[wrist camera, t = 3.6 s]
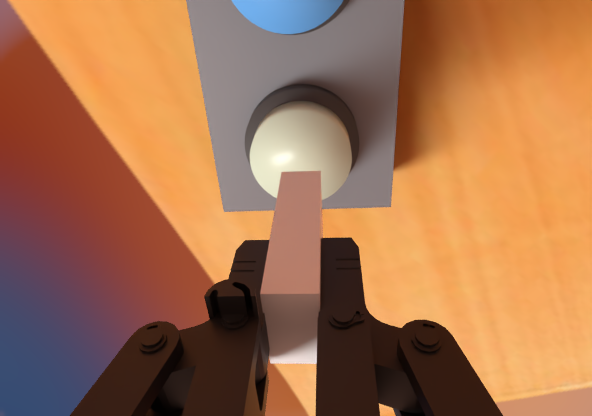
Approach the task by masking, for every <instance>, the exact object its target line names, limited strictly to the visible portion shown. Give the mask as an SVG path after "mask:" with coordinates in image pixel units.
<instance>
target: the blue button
mask: <svg viewBox="0 0 592 416" xmlns="http://www.w3.org/2000/svg"><path fill="white" fill-rule="evenodd" d="M231 1H232V2H233V4H234V5H235V6H236V8H237V9H238V10H239V11H240V12H241V13H242V14H243V15H244V17H246V18H247V19H248V20H249V21H251V22H252V23H254V24H255V25H257V26H258V27H260V28H263V29H265V30H267V31H271V32H274V33H280V34H296V33H302V32H305V31H308V30H311V29H313V28H315V27H317V26H319V25H320V24H322V23H323V22H325V21H326V20H327V19H329V18H330V17H331V16H332V15H333V14H334V13H335V12H336V10H337V9H338V8H339V6H340V5H341V4H342V2H343V0H231Z"/></svg>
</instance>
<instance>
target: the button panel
mask: <svg viewBox="0 0 592 416" xmlns="http://www.w3.org/2000/svg"><path fill="white" fill-rule="evenodd" d="M186 2H187V7H188V13H189V18H190V24H191V30H192V35H193V41H194V46H195V52H196V58H197V63H198V69H199V74H200V80H201V86H202V91H203V97H204V103H205V108H206V114H207V119H208V125H209V131H210V136H211V142H212V147H213V153H214V159H215V164H216V170H217V175H218V181H219V187H220V192H221V198H222V204H223V209H224V212H233V211H268V210H275V206H276V201H277V198H275V197H273V196H272V195H270V194H269V193H268V192H266V191H265V190H264V189H263V188H262V187H261V186H260V184H259V183H258V182H257V180H256V178H255V177H254V175H253V172H252V169H251V165H250V149H251V145H252V142H253V139H254V136H255V133H256V130H257V127H258V126H259V124H260V122H261V121H262V119H263V118H264V117H265V116H266V115H267V114H268V113H269V112H270V111H272V110H273V109H274V108H276V107H278V106H280V105H282V104H285V103H289V102H293V101H309V102H314V103H317V104H320V105H322V106H325V107H326V108H328V109H330V110H331V111H332V112H334V113H335V114H336V115H337V116H338V117H339V118H340V119H341V121H342V122H343V124H344V126H345V127H346V130H347V132H348V135H349V140H350V146H351V152H352V164H351V169H350V172H349V175H348V177H347V179H346V181H345V182H344V184H343V185H342V186H341V187H340V188H339V189H338V190H337V191H336V192H335V193H334V194H333V195H331V196H329V197H328V198H326V199H324V200H322V209H337V208H372V207H391V196H392V181H393V166H394V151H395V136H396V121H397V106H398V91H399V76H400V60H401V45H402V30H403V15H404V0H343V2H342V4H341V5H340V6H339V8H338V9H337V10H336V12H335V13H334V14H333V15H332V16H331V17H330V18H329V19H327V20H326V21H325V22H323V23H322V24H320V25H319V26H317V27H315V28H313V29H311V30H308V31H305V32H302V33H296V34H280V33H274V32H271V31H267V30H265V29H263V28H260V27H258V26H257V25H255V24H254V23H252V22H251V21H249V20H248V19H247V18H246V17H244V15H243V14H242V13H241V12H240V11H239V10H238V9H237V8H236V6H235V5H234V4H233V2H232V1H231V0H186Z"/></svg>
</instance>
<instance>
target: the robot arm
mask: <svg viewBox="0 0 592 416" xmlns="http://www.w3.org/2000/svg"><path fill="white" fill-rule="evenodd" d="M205 301H206V305H207V309H208V314H209V318H210V320H208V321H206V322H205V323H203V324H200V325H198V326H195V327H191V328H187V329H183V330H180V331H179V330H178V329H177V328H176V327H175V325H173V324H171V323H169V322H160V321H158V322H153V323H150V324H147V325H145V326H143V327H141V328H140V329H138V330H137V331H136V332H135V333H134V334H133V335H132V336H131V337H130V338H129V339H128V341H127V342H126V343H125V345H124V346H123V348H122V349H121V350H120V351H119V352H118V354H117V355H116V356H115V358H114V359H113V360H112V362H111V363H110V364H109V366H108V367H107V368H106V369H105V371H104V372H103V373H102V375H101V376H100V377H99V378H98V380H97V381H96V382H95V384H94V385H93V386H92V387H91V389H90V390H89V391H88V393H87V394H86V395H85V397H84V398H83V399H82V400H81V402H80V403H79V404H78V406H77V407H76V408H75V409H74V411H73V412H72V413H71V415H70V416H265V409H266V400H267V392H268V384H269V380H268V371H267V365H268V358H270V363H296V364H317V375H316V416H380V411H379V403H380V404H383V405H386V406H389V407H392V408H393V410H394V412H395V415H396V416H503V415H502V413H501V412H500V410H499V409H498V407H497V405H496V404H495V402H494V401H493V399H492V397H491V396H490V394H489V393H488V391H487V390H486V388H485V386H484V385H483V383H482V382H481V380H480V378H479V377H478V375H477V374H476V372H475V371H474V369H473V367H472V366H471V364H470V363H469V361H468V360H467V358H466V356H465V355H464V353H463V352H462V350H461V348H460V347H459V345H458V344H457V342H456V341H455V339H454V337H453V336H452V335H451V333H450V332H449V331H448V330H447V329H446V328H445V327H443V326H441V325H440V324H438V323H436V322H432V321H428V320H414V321H411V322H409V323H406V324H405V325H404V326H403V327H402V328H398V327H395V326H391V325H388V324H385V323H382V322H380V321H379V320H377V319H375V318H374V317H373V316H372V315H371V314H370V313H369V311H368V310H367V308H366V305H365V299H364V291H363V282H362V273H361V264H360V255H359V247H358V246H357V245H356V243H355V242H354V241H353V239H352V238H323V223H322V194H321V171H293V172H281V178H280V183H279V189H278V195H277V201H276V206H275V212H274V218H273V223H272V229H271V235H270V240H245V241H244V242H243V243H242V244H241V246H240V247H239V248H238V249H237V250H236V253H235V257H234V260H233V264H232V268H231V272H230V275H229V279H227V280H223V281H221V282H218V283H216V284H215V285H213V286H212V287H211V288H210V289H209V290H208V291H207V293H206V294H205Z"/></svg>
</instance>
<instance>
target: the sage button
mask: <svg viewBox="0 0 592 416" xmlns="http://www.w3.org/2000/svg"><path fill="white" fill-rule="evenodd" d="M351 164H352V152H351V146H350V140H349V135H348V132H347V130H346V127H345V126H344V124H343V122H342V121H341V119H340V118H339V117H338V116H337V115H336V114H335V113H334V112H332V111H331V110H330V109H328V108H326V107H325V106H322V105H320V104H317V103H314V102H309V101H293V102H289V103H285V104H282V105H280V106H278V107H276V108H274V109H273V110H272V111H270V112H269V113H268V114H267V115H266V116H265V117H264V118H263V119H262V121H261V122H260V124H259V126H258V127H257V130H256V133H255V136H254V139H253V142H252V145H251V149H250V165H251V169H252V172H253V175H254V177H255V178H256V180H257V182H258V183H259V184H260V186H261V187H262V188H263V189H264V190H265V191H266V192H268V193H269V194H270V195H272V196H273V197H275V198H277V195H278V189H279V183H280V178H281V172H293V171H321V194H322V200H324V199H326V198H328V197H329V196H331V195H333V194H334V193H335V192H336V191H337V190H338V189H339V188H340V187H341V186H342V185H343V184H344V182H345V181H346V179H347V177H348V175H349V172H350V169H351Z"/></svg>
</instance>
